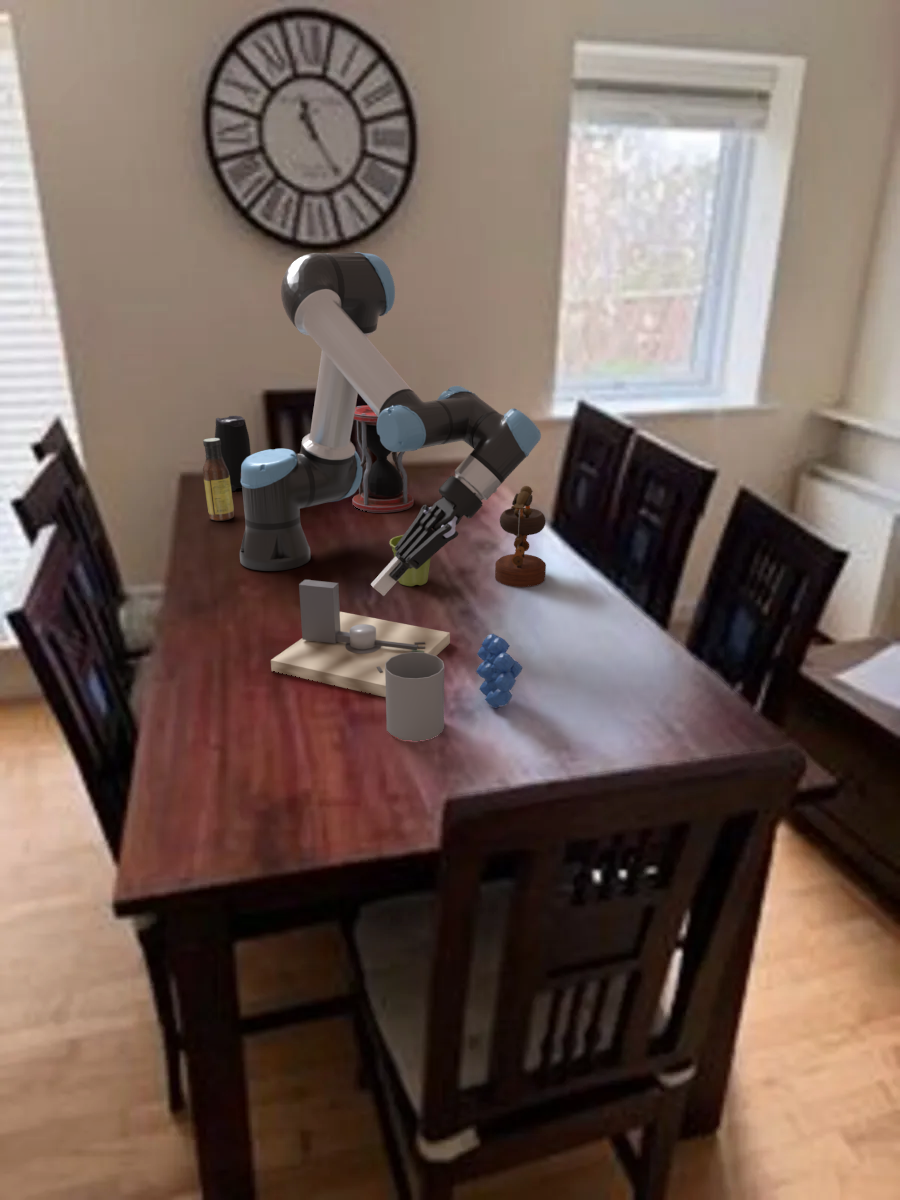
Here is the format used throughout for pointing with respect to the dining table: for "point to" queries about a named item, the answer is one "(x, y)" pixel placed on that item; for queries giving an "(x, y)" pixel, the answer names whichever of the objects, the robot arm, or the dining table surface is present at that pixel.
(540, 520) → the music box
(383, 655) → the dial plate
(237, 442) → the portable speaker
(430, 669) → the cup
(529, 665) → the dining table surface
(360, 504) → the hourglass
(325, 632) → the lever dial gauge
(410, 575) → the plant pot
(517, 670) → the grapes
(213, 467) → the sauce bottle
